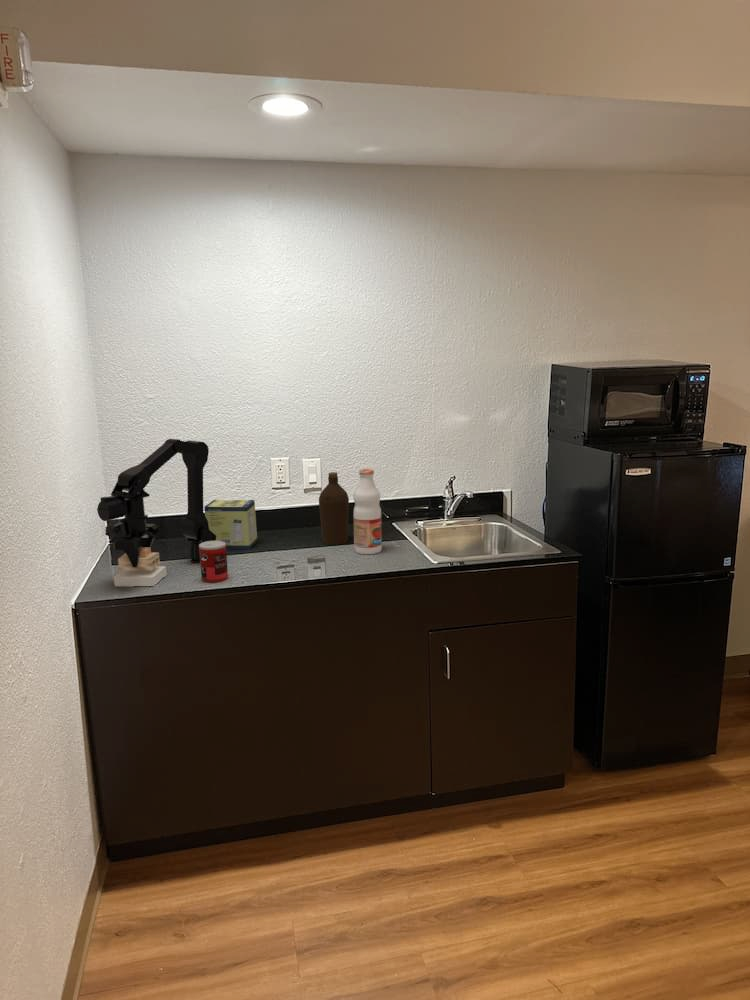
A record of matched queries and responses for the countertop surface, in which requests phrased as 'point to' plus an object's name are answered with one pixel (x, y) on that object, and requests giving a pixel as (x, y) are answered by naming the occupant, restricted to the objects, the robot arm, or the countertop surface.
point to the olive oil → (334, 512)
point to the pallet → (140, 562)
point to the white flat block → (140, 577)
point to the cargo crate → (144, 552)
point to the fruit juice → (367, 515)
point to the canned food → (213, 561)
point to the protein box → (233, 522)
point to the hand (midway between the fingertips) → (139, 563)
